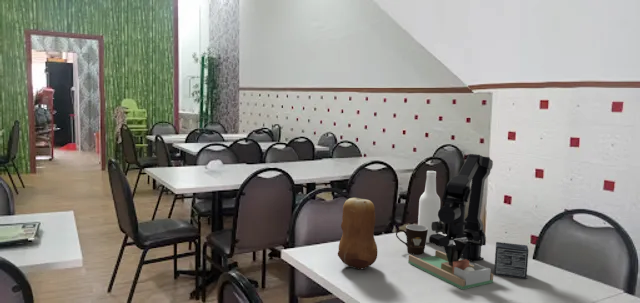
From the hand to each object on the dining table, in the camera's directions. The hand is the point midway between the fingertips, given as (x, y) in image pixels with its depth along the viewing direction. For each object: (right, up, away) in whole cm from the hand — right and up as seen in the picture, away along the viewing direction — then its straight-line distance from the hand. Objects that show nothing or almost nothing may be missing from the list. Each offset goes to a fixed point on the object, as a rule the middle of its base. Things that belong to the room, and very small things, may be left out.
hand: (453, 261), depth 168 cm
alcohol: (0, 0, +40) cm, 40 cm away
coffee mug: (-10, -2, +24) cm, 26 cm away
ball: (+4, -2, -7) cm, 8 cm away
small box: (+21, -5, +2) cm, 21 cm away
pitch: (-1, -4, +2) cm, 5 cm away
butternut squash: (-33, -3, +4) cm, 34 cm away
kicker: (0, -3, 0) cm, 3 cm away
